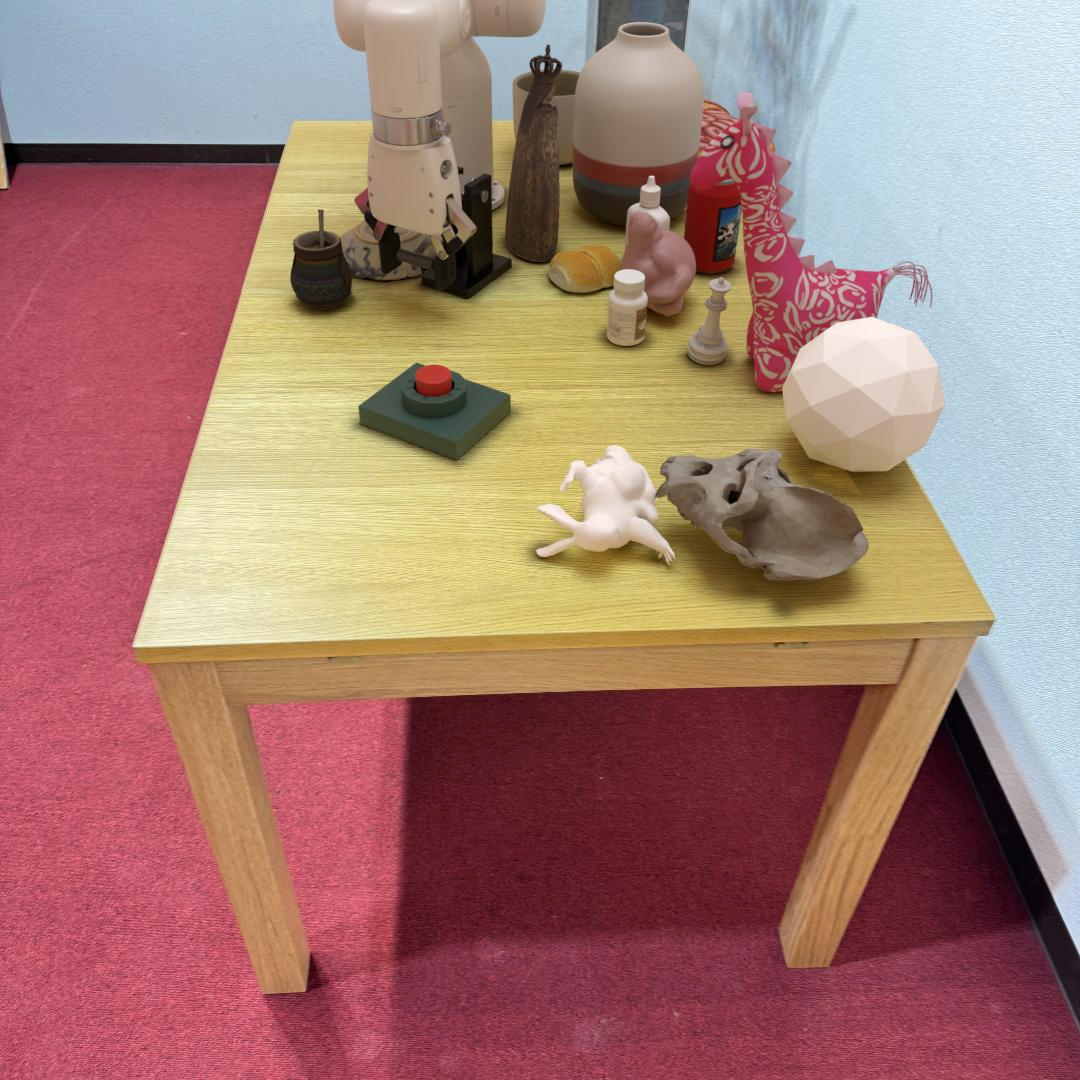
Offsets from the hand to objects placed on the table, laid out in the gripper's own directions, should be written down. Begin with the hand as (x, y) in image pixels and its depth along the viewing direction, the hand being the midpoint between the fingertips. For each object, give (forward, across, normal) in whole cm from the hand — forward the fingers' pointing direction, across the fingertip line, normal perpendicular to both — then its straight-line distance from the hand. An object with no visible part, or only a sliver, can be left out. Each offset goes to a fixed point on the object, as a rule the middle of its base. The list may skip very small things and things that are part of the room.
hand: (418, 276), depth 126 cm
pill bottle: (+4, -24, -7) cm, 25 cm away
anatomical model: (0, -21, -51) cm, 55 cm away
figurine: (+4, -24, -16) cm, 29 cm away
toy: (+4, -44, -9) cm, 45 cm away
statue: (+4, -3, -21) cm, 22 cm away
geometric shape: (0, -49, -4) cm, 49 cm away
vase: (+4, -8, -39) cm, 40 cm away
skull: (+7, -44, +20) cm, 49 cm away
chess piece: (+4, -34, -8) cm, 35 cm away
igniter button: (+1, -15, +18) cm, 23 cm away
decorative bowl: (+4, +12, -10) cm, 16 cm away
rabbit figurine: (+3, -40, +22) cm, 46 cm away
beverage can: (+4, -24, -29) cm, 38 cm away
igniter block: (+4, -15, +18) cm, 24 cm away
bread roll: (+4, -13, -17) cm, 22 cm away
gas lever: (-4, 0, -6) cm, 7 cm away
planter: (+4, +11, -50) cm, 51 cm away
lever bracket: (+4, 0, -10) cm, 11 cm away
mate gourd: (+4, +11, +5) cm, 13 cm away
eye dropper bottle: (+4, -18, -24) cm, 30 cm away
